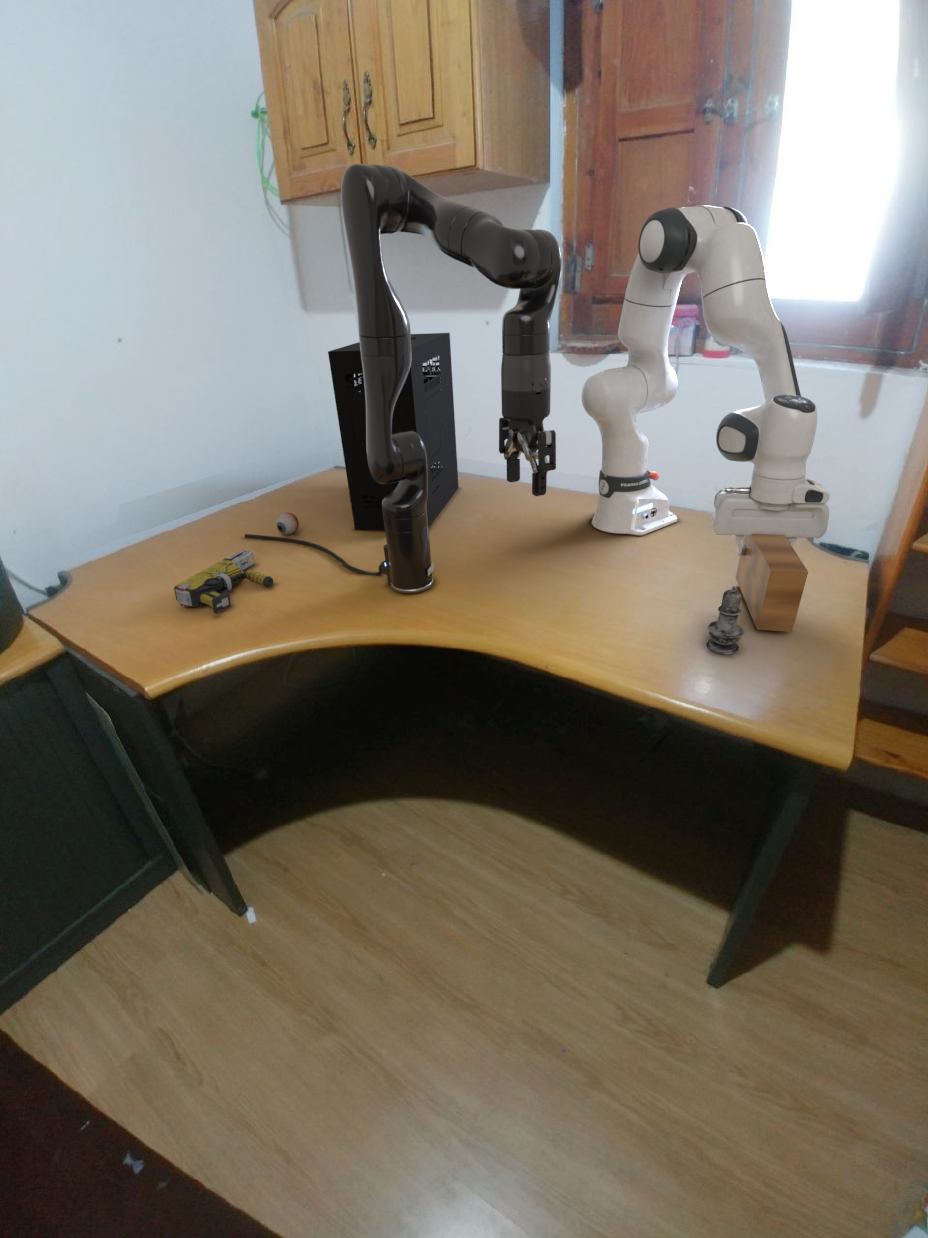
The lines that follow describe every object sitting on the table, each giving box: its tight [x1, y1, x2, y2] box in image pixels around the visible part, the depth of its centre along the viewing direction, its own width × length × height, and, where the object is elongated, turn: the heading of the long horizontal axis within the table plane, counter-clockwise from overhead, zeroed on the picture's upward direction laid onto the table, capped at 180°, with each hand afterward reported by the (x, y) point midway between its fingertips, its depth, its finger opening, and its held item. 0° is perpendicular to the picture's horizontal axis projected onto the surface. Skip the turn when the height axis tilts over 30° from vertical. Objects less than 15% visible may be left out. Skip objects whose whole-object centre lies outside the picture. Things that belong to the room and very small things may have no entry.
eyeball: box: [275, 511, 300, 536], centre depth 163 cm, size 6×6×6 cm
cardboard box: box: [327, 332, 460, 532], centre depth 168 cm, size 38×20×45 cm, turn 167°
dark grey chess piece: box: [706, 585, 745, 655], centre depth 104 cm, size 6×6×12 cm
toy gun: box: [173, 548, 274, 614], centre depth 136 cm, size 5×24×15 cm
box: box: [735, 534, 809, 633], centre depth 114 cm, size 21×6×12 cm, turn 168°
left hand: (525, 487), depth 100 cm, fingers open, 8 cm apart
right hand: (760, 555), depth 120 cm, fingers closed on box, 6 cm apart
